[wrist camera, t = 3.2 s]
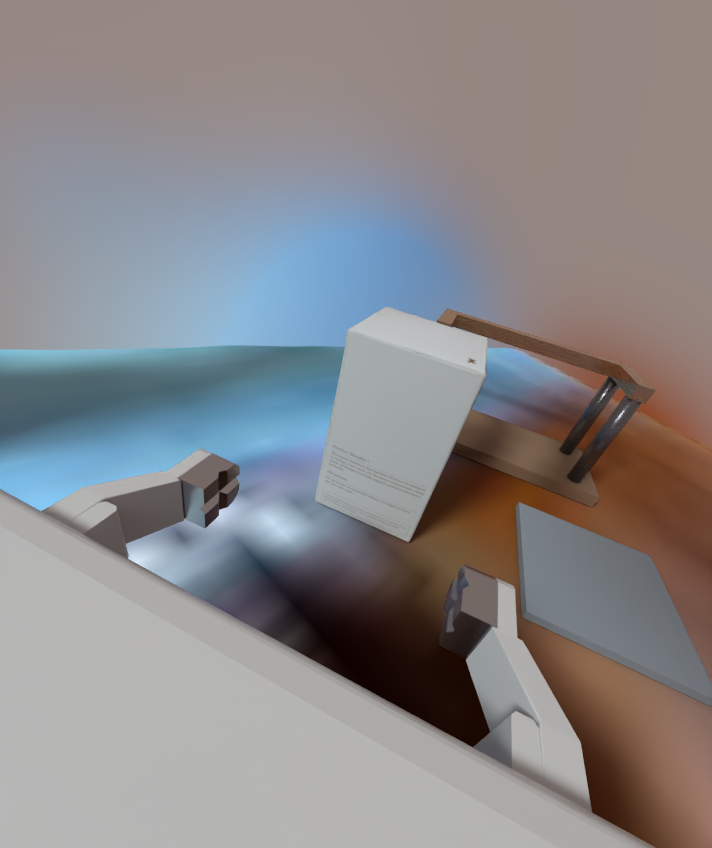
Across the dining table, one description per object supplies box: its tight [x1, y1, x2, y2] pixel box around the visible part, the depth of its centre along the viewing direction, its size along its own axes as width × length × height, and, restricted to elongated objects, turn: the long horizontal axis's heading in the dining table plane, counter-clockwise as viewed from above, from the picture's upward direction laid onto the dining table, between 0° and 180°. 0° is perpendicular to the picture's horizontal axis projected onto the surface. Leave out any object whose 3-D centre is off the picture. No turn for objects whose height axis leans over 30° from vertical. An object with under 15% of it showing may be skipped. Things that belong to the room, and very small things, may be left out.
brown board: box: [452, 409, 600, 507], centre depth 36 cm, size 20×8×1 cm, turn 69°
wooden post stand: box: [437, 309, 655, 484], centre depth 33 cm, size 17×6×10 cm, turn 69°
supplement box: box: [315, 307, 488, 542], centre depth 23 cm, size 7×7×13 cm
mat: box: [516, 502, 712, 707], centre depth 23 cm, size 10×10×1 cm
